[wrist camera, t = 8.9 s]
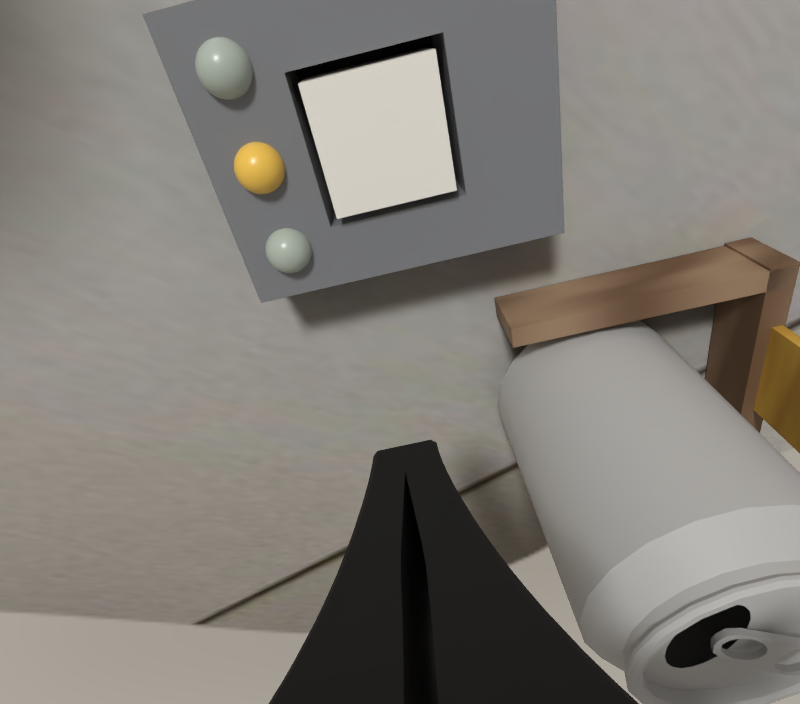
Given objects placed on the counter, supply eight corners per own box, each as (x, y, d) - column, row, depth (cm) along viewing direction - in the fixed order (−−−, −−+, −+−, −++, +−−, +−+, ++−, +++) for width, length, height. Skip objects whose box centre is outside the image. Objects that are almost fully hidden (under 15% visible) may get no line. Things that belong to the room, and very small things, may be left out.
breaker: (425, 47, 14) (435, 48, 13) (445, 173, 16) (457, 190, 15) (305, 77, 15) (297, 84, 13) (339, 198, 17) (337, 219, 15)
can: (518, 294, 20) (689, 566, 10) (690, 313, 21) (1006, 575, 11) (475, 437, 24) (564, 737, 14) (622, 447, 25) (806, 732, 15)
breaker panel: (522, -74, 14) (563, -102, 11) (539, 209, 18) (572, 240, 15) (174, 17, 14) (131, 13, 11) (272, 272, 18) (257, 312, 16)
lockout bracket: (751, 237, 19) (877, 301, 15) (723, 398, 23) (813, 487, 19) (494, 295, 20) (536, 375, 15) (512, 442, 24) (550, 540, 19)
